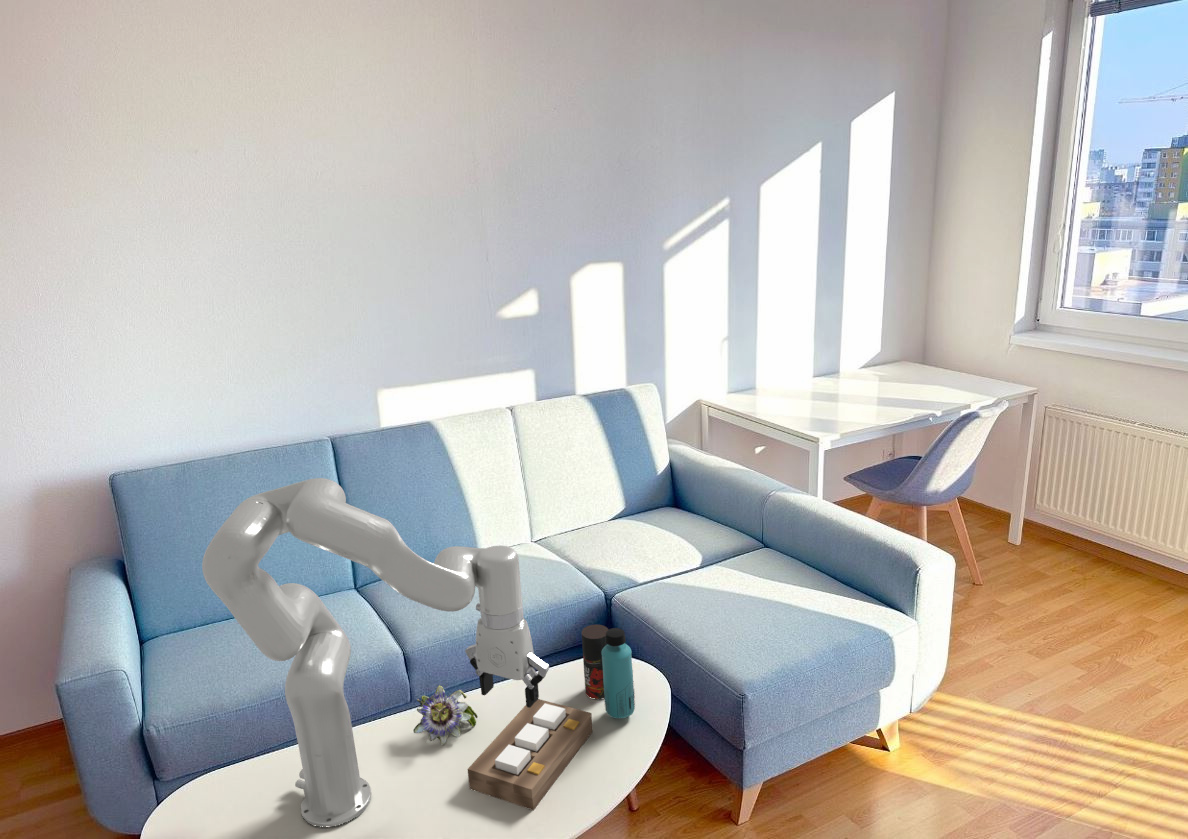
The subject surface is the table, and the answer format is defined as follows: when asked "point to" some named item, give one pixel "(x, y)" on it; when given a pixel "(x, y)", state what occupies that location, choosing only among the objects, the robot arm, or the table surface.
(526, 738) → the key middle
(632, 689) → the beverage bottle
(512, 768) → the key left
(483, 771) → the keypad
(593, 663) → the deodorant
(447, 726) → the passion flower
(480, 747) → the table surface
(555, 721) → the key right
